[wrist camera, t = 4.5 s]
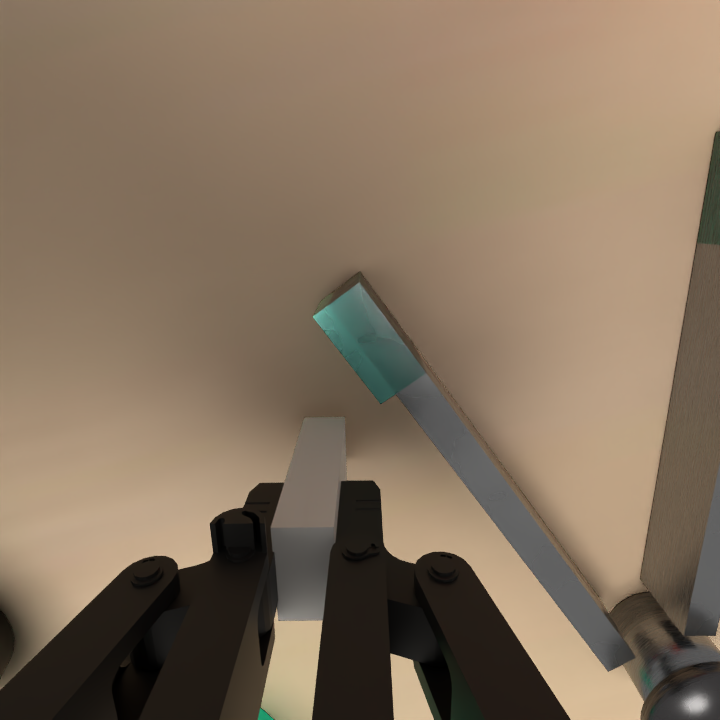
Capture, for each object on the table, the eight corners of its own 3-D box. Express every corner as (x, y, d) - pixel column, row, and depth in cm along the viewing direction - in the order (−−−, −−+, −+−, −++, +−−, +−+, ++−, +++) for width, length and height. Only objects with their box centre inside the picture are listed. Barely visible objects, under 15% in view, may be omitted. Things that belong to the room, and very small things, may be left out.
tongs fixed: (690, 664, 23) (769, 773, 18) (587, 665, 23) (640, 774, 18) (807, 129, 16) (975, 96, 12) (661, 133, 16) (773, 102, 12)
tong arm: (599, 598, 21) (636, 657, 19) (564, 617, 22) (594, 678, 19) (360, 271, 17) (359, 282, 15) (321, 300, 18) (312, 317, 15)
